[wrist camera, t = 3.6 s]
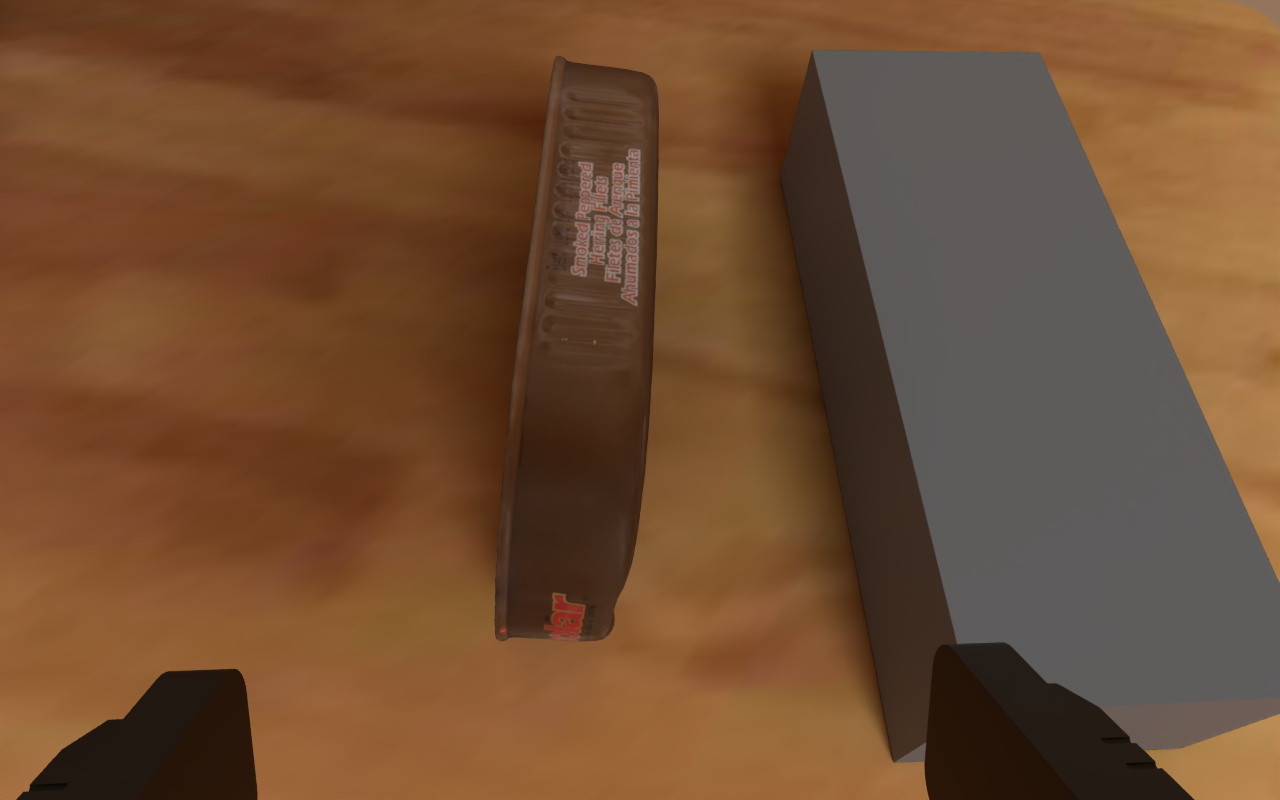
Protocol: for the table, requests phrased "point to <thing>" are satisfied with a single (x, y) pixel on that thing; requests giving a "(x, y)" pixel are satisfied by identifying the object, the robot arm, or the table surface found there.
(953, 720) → the robot arm
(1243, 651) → the base brick
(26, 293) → the table surface
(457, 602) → the table surface
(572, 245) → the tin
